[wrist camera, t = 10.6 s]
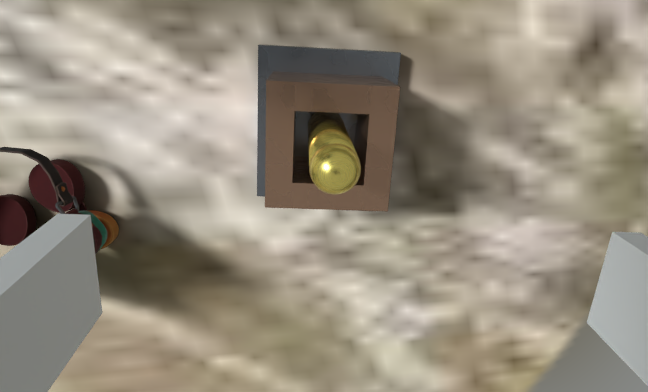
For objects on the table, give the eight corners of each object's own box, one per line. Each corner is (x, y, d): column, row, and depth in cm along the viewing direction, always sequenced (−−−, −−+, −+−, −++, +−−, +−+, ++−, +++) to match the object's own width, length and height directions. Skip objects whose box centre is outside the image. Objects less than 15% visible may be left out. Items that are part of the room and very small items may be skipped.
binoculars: (-72, 142, 22) (66, 306, 24) (55, 121, 32) (144, 238, 34) (-202, 238, 23) (-62, 387, 25) (-41, 189, 34) (51, 298, 36)
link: (273, 71, 30) (266, 80, 24) (382, 76, 30) (400, 86, 25) (271, 176, 32) (265, 207, 27) (373, 180, 33) (387, 211, 27)
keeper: (259, 44, 31) (232, 52, 19) (397, 52, 31) (453, 64, 19) (258, 191, 34) (234, 274, 22) (383, 196, 34) (423, 279, 23)
